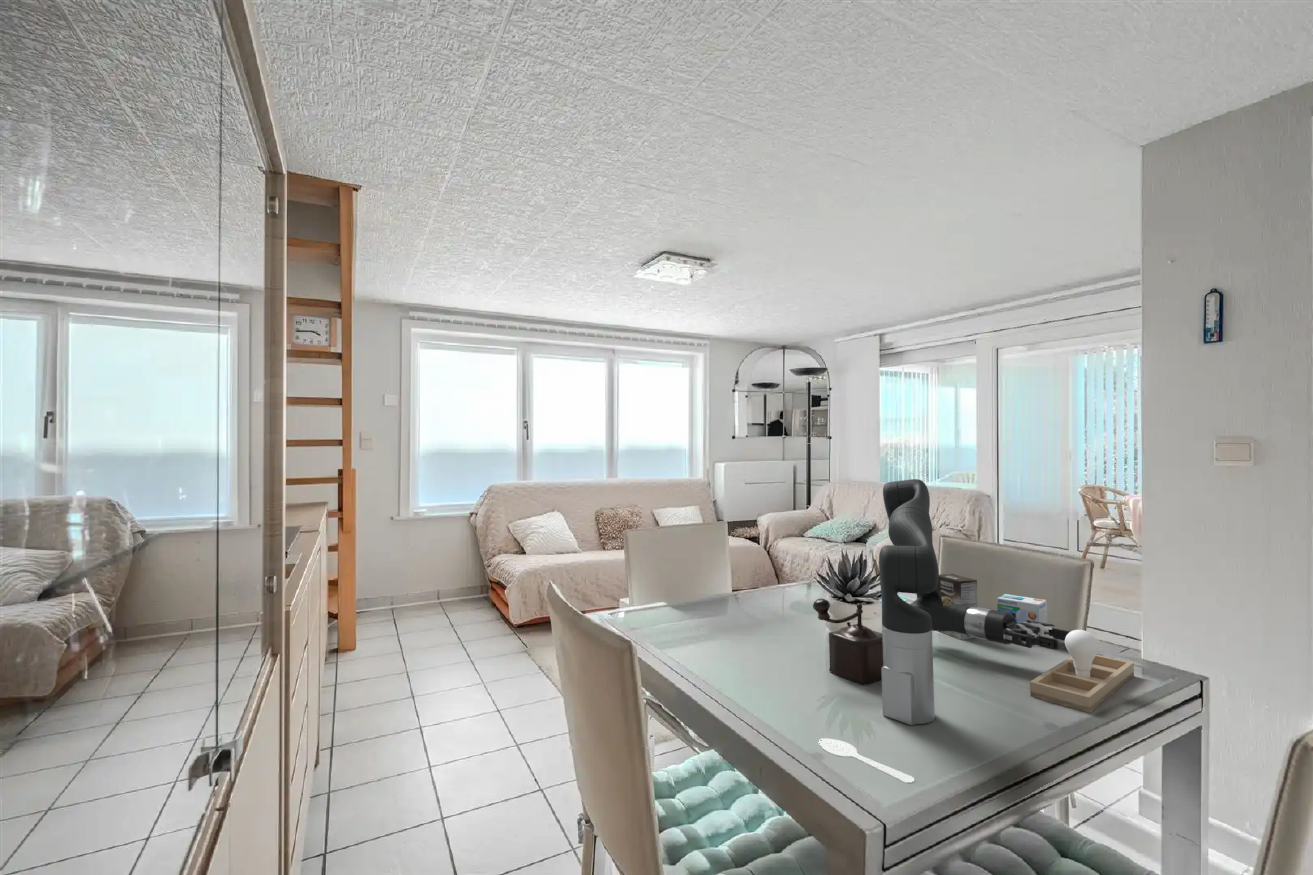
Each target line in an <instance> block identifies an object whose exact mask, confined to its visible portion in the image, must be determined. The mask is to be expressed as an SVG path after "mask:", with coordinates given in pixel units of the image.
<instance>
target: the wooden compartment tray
mask: <svg viewBox="0 0 1313 875" xmlns="http://www.w3.org/2000/svg"><path fill="white" fill-rule="evenodd" d="M1134 665H1135V664H1134V662H1132V661H1128V660H1122V659H1119V658H1113V657H1110V656H1105V655H1099V654H1096V656H1095V657H1094V659H1093V661H1092V665H1091V670H1090V679H1084V678H1080V677H1076V671H1075V667H1074V663H1073V659H1072V657H1071V655H1070V656H1069V657H1068V658H1066V659H1064V660H1063V661H1061V662H1059V663H1057V664H1056V665H1055V666H1052V667H1050V669H1048V670H1046V671H1045V672H1043V673H1042V674H1040V675H1038V676H1036V678H1034V679H1032V680H1030V681H1029V689H1030V692H1029V693H1030V694H1029V695H1030V697H1033V698H1036V699H1039V700H1043V701H1046V702H1051V703H1054V704H1057V705H1060V706H1065V707H1068V708H1071V709H1074V710H1075V709H1076V710H1078V711H1082V712H1085V713H1092V712H1093V711H1094V710H1095V709H1096V708H1097V707H1099V706H1100V705H1101V704H1102V703H1103V702H1104V701H1106V700H1107V699H1109V697H1110V696H1112V695H1113V694H1115V692H1117V691H1118V690H1119V689H1120V688H1121V687H1123V686H1124V685H1125V684H1126V683H1128V682H1130V680H1131V679H1132V678H1134V676H1135V670H1134V669H1135V666H1134Z"/></svg>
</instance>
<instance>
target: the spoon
mask: <svg viewBox="0 0 1313 875" xmlns="http://www.w3.org/2000/svg"><path fill="white" fill-rule="evenodd" d="M820 740H822V741H820ZM818 741H819V742H818ZM817 743H818V746H819V745H821V746H822V748H821V749H822V750H823V749H824V750H823V751H825V752H826V751H827V752H826V753H828V754H830V753H831V755H833V756H836V757H841V758H842V757H843V758H854V759H856V760H859V761H860V762H863V763H864V764H866V765H868V766H870V767H872V768H875V769H876V770H878V771H880V772H882V773H884V774H886V775H888V776H891V777H892V778H894V779H896V780H899V781H900V782H902V783H906V784H911V783H914V782H915V778H914V776H912V775H910V774H907V773H905V772H902V771H901V770H898V769H896V768H893V767H891V766H888V765H887V764H882V763H880V762H877V761H875V760H873V759H872V758H869V757H865V756H864V755H861V754H859V753H858V749H857V748H856V747H855V746H854V745H853V744H851V743H850V742H847V741H843V740H839V739H836V738H831V737H830V738H827V737H822V738H820V739H818V740H817ZM819 743H820V744H819Z"/></svg>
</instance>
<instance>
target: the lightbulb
mask: <svg viewBox="0 0 1313 875" xmlns="http://www.w3.org/2000/svg"><path fill="white" fill-rule="evenodd" d="M1099 644H1100V643H1099V641H1098V639H1097V638H1096V637H1095V636H1094V634H1092V633H1090V632H1088V631H1087V630H1082V629H1073V630H1071V632H1069V633H1068V634H1067V636H1066V638H1065V641H1064V645H1065V647H1066V649H1067V652H1068V653H1069V654H1070V656H1071V657H1072V659H1073V663H1074V667H1075V671H1076V677H1080V678H1084V679H1090V670H1091V665H1092V661H1093V659H1094V657H1095V656H1096V655H1098V652H1099V649H1100V645H1099Z"/></svg>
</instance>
